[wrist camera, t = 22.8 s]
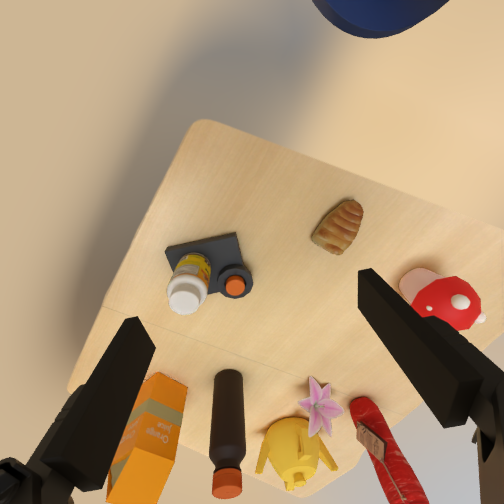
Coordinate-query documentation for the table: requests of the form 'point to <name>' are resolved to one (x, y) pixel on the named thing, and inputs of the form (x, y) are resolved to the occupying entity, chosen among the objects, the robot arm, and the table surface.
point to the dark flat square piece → (216, 261)
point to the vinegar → (227, 434)
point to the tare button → (235, 285)
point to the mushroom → (442, 298)
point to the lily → (320, 408)
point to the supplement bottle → (189, 283)
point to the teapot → (293, 452)
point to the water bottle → (385, 454)
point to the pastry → (339, 227)
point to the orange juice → (148, 443)
